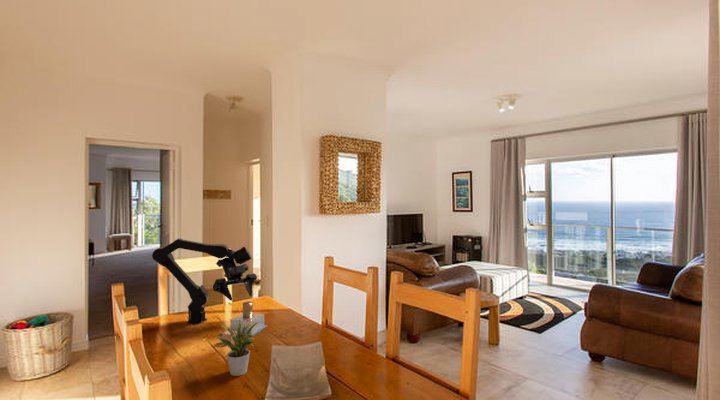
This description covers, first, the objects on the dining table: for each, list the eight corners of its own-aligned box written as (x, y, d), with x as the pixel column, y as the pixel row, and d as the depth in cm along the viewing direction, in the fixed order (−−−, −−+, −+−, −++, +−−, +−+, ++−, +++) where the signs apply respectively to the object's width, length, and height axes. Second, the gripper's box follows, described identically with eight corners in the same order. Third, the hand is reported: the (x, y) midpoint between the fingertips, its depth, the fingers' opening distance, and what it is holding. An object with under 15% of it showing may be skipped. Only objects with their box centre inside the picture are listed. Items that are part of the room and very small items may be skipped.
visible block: (222, 343, 146) (222, 333, 145) (228, 340, 149) (228, 330, 149) (231, 345, 144) (231, 334, 144) (237, 341, 148) (237, 331, 148)
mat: (227, 333, 157) (227, 331, 157) (243, 323, 168) (243, 322, 168) (252, 336, 153) (252, 335, 153) (267, 326, 165) (267, 325, 165)
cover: (230, 331, 157) (230, 305, 157) (244, 323, 167) (244, 298, 167) (251, 333, 154) (251, 307, 154) (264, 325, 164) (264, 300, 164)
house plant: (247, 357, 133) (247, 311, 133) (271, 368, 125) (271, 319, 124) (209, 371, 122) (209, 321, 122) (233, 385, 114) (233, 331, 113)
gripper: (215, 260, 161) (226, 291, 154) (255, 256, 174) (267, 283, 166) (208, 276, 167) (218, 306, 159) (247, 270, 180) (258, 298, 172)
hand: (241, 298), depth 164 cm, fingers open, 9 cm apart
